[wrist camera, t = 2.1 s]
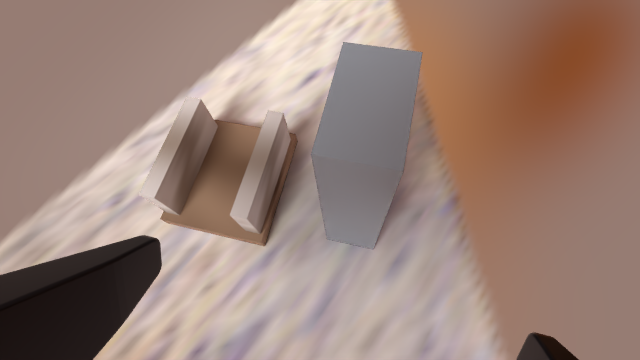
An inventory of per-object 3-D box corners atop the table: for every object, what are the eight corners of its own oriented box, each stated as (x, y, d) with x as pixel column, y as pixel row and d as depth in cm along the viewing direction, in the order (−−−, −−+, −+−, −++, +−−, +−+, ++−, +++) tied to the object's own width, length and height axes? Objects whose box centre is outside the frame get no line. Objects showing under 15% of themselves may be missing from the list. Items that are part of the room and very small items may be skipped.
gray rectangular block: (373, 249, 21) (403, 171, 10) (327, 239, 21) (311, 154, 11) (388, 166, 23) (425, 32, 13) (346, 158, 24) (348, 23, 13)
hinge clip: (264, 246, 21) (247, 228, 18) (167, 223, 22) (131, 201, 19) (297, 141, 24) (288, 106, 21) (210, 125, 25) (187, 89, 22)
